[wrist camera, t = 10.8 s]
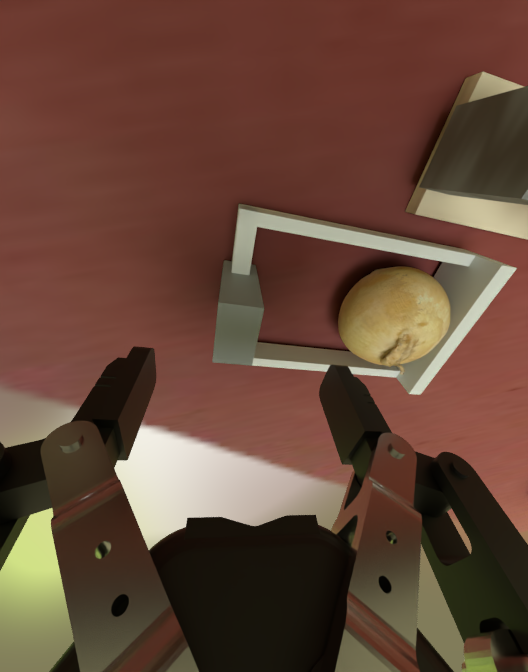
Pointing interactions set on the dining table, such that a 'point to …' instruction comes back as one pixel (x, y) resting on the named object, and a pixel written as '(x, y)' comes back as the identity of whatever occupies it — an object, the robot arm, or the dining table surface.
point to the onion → (394, 316)
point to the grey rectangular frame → (242, 348)
